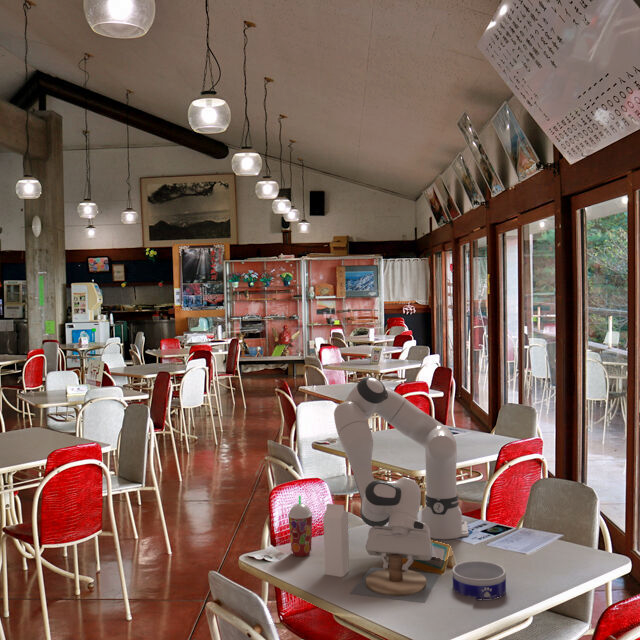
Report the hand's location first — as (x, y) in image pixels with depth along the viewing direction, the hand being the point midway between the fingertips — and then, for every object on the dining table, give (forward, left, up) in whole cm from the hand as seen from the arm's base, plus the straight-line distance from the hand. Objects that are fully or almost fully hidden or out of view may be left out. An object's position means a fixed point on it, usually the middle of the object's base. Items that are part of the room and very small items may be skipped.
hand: (395, 570), depth 210 cm
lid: (-1, 0, -4) cm, 4 cm away
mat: (-1, 0, -5) cm, 5 cm away
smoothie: (-19, -38, -5) cm, 43 cm away
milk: (-5, -20, -5) cm, 21 cm away
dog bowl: (-5, +24, -5) cm, 25 cm away
